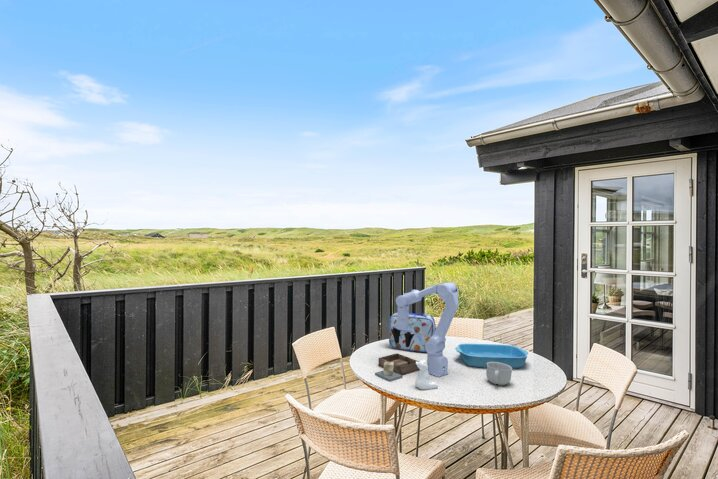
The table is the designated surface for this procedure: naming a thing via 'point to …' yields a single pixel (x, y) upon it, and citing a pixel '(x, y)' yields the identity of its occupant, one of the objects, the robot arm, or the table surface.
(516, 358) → the casserole dish
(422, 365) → the white creature statuette
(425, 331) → the lunch box
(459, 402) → the table surface
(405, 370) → the walnut crate
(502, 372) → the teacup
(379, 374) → the slate mat
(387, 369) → the metal block
